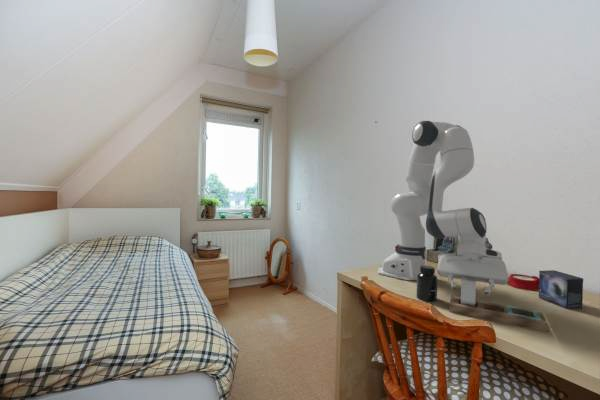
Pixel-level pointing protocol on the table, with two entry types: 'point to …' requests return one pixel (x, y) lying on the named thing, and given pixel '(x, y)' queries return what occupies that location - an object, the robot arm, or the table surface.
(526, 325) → the wooden compartment tray
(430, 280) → the supplement bottle
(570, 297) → the small box
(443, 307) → the table surface
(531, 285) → the alarm clock
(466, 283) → the steel peg
